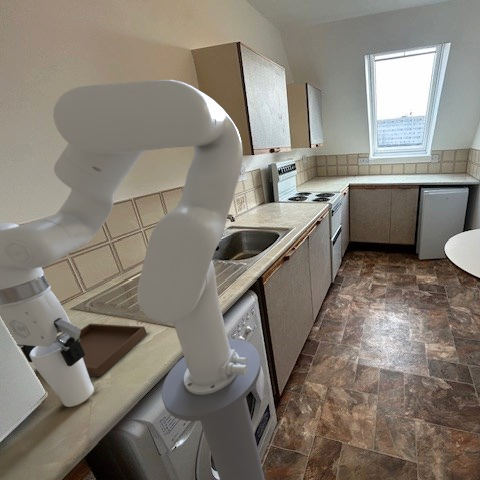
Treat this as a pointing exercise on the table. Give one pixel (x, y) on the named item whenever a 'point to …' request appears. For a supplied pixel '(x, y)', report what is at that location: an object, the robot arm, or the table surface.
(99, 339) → the tray
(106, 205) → the robot arm
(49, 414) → the table surface
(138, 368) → the table surface
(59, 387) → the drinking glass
